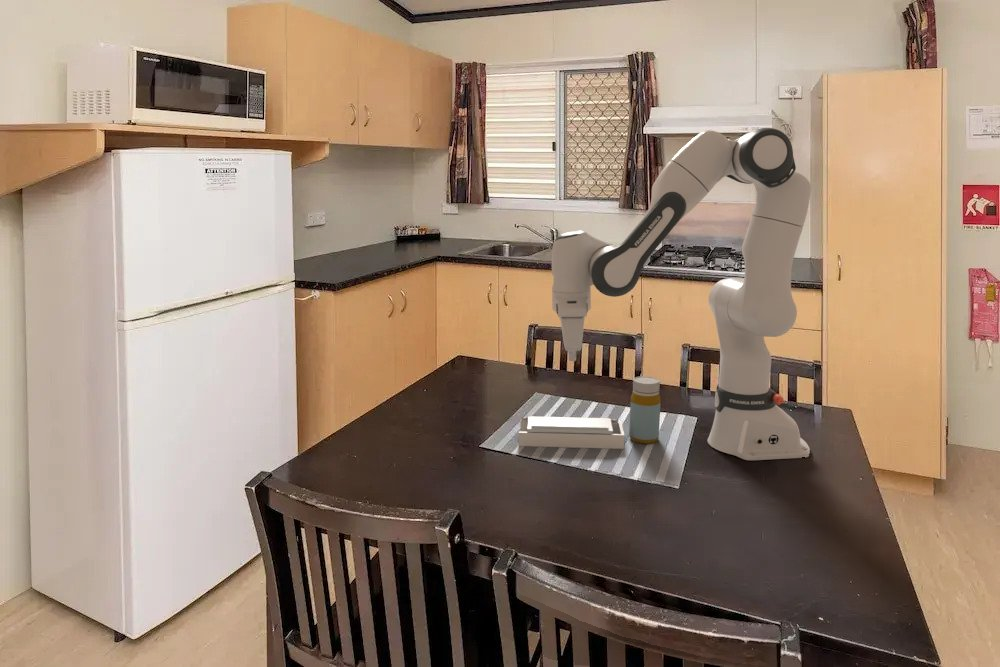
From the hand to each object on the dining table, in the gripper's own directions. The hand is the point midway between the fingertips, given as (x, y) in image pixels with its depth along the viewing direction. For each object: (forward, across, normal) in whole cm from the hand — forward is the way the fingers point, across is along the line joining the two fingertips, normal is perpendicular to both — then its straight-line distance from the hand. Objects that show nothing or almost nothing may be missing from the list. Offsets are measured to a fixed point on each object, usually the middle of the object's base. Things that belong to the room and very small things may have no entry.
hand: (572, 359), depth 165 cm
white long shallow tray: (+20, +1, -1) cm, 20 cm away
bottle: (+21, -1, +17) cm, 27 cm away
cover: (+16, +1, -1) cm, 16 cm away
